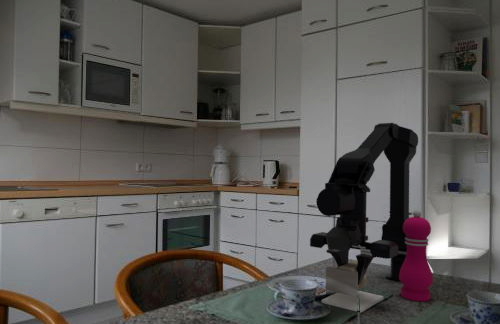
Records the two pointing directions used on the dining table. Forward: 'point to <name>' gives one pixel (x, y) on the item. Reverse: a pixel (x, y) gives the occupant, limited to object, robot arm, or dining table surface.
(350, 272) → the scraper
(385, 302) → the dining table surface
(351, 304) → the mat
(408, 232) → the pepper mill
